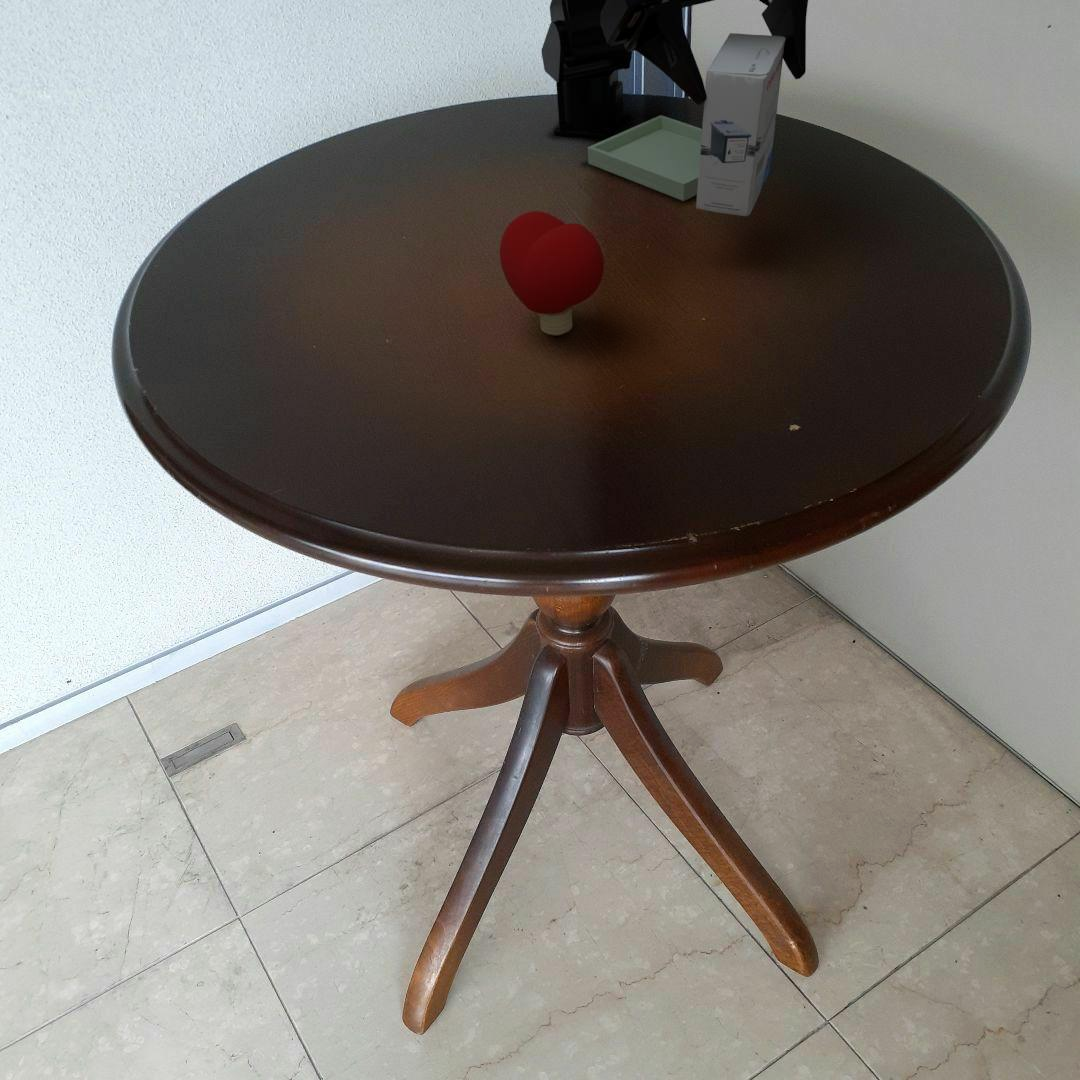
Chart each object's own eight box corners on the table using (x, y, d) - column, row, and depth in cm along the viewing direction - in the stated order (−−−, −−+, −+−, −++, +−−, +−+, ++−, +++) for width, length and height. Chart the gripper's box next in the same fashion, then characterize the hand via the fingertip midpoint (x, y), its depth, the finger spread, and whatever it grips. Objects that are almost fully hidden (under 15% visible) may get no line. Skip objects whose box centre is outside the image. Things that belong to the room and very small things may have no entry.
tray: (588, 163, 110) (587, 147, 108) (660, 131, 114) (660, 114, 113) (683, 201, 101) (683, 184, 100) (757, 164, 106) (758, 147, 105)
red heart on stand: (488, 335, 86) (473, 224, 80) (544, 300, 90) (535, 190, 83) (571, 372, 81) (562, 257, 75) (627, 333, 85) (624, 220, 78)
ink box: (718, 166, 93) (727, 30, 85) (774, 172, 92) (788, 34, 83) (694, 211, 88) (701, 69, 79) (753, 218, 86) (766, 74, 78)
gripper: (613, -150, 72) (689, 63, 72) (837, -192, 76) (907, 8, 77) (570, -51, 82) (636, 134, 83) (768, -93, 87) (830, 82, 87)
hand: (752, 89), depth 82 cm, fingers closed on ink box, 9 cm apart
